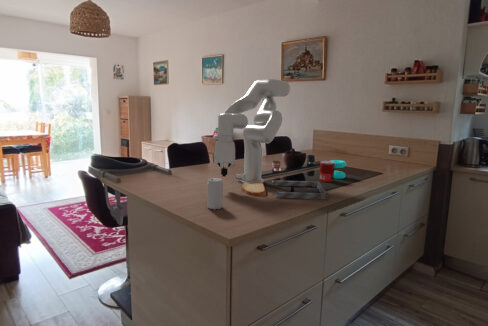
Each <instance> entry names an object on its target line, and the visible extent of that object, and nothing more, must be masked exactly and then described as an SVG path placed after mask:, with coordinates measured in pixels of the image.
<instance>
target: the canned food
mask: <svg viewBox="0 0 488 326" xmlns="http://www.w3.org/2000/svg"><path fill="white" fill-rule="evenodd" d="M319 163H320V164H319V181H320V182H322V183H333V182H334V180H335V179H334V171H335V169H336V168H335V162H333V161H331V160H321V161H320V162H319Z"/></svg>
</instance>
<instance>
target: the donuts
mask: <svg viewBox="0 0 488 326" xmlns="http://www.w3.org/2000/svg"><path fill="white" fill-rule="evenodd" d="M330 161H333V162H335V169H342V168H345V167H346V166H347V162H346V161H345V160H342V159H341V160H339V159H332V160H330ZM345 178H346V173H345V172H344V171H341V170H334V180H335V179H336V180H338V179H339V180H341V179H345Z"/></svg>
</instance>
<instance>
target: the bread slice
mask: <svg viewBox="0 0 488 326" xmlns="http://www.w3.org/2000/svg"><path fill="white" fill-rule="evenodd" d="M241 191H242V192H243V193H244V194H246V195H247V196H253V197H261V198H262V197H265V196H266V193H267V192H266V189H265V185H264V182H263V183H262V182H261V181H260V182H256V183H253V184H248V183H246V182H245V183H242V185H241Z"/></svg>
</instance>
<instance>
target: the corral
mask: <svg viewBox="0 0 488 326" xmlns="http://www.w3.org/2000/svg"><path fill="white" fill-rule="evenodd" d="M274 186H275V187H277V186H280V187H306V186H312V188H314V187H315V188H317V190H318V189H319V190H318V191H319V192H298V191H297V192H295V191H293V192H292V191H290V192H289V191H276V193H275V194H276V198H277V199H279V198H280V199H303V200H304V199H305V200H307V199H309V200H313V199H314V200H328V198H329V197H328V196H329V193H327V191H326V190H325V188H324V187H323V185H322V184H321V182H319V181H311V180H309V181H307V180H305V181H304V180H303V181H302V180H300V181H299V180H276V179H274Z"/></svg>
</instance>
